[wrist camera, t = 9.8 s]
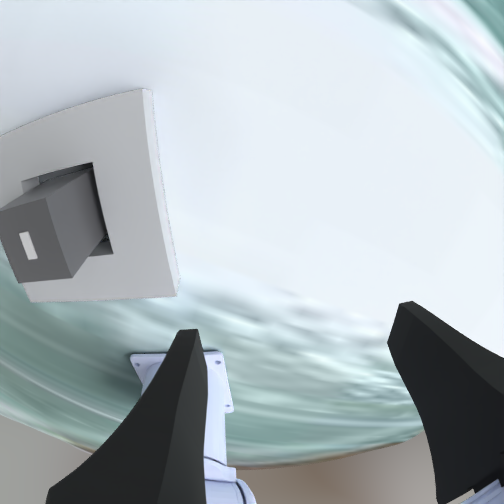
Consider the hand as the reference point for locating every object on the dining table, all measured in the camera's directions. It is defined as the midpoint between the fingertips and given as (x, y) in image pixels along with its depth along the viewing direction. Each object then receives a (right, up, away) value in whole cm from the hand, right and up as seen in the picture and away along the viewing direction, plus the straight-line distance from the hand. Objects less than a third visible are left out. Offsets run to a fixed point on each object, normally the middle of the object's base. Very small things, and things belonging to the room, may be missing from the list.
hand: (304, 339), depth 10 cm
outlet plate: (-13, +6, +6) cm, 16 cm away
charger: (-13, +6, +6) cm, 16 cm away
